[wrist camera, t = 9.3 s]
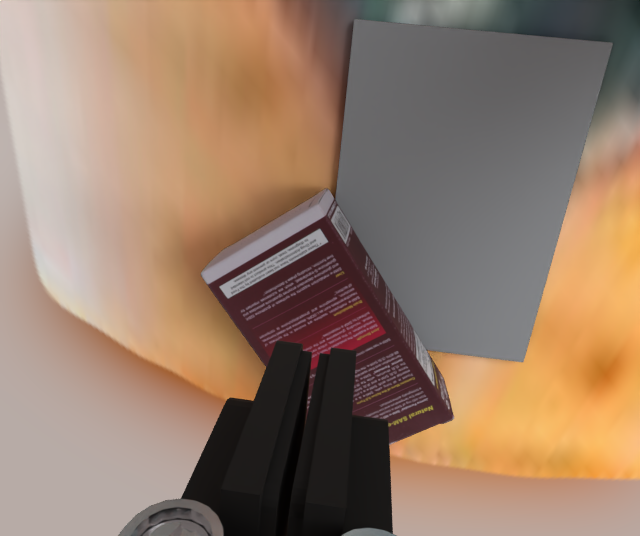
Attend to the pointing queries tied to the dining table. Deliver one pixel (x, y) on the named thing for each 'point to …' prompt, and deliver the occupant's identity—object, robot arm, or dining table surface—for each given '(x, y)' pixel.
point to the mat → (464, 171)
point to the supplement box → (330, 312)
